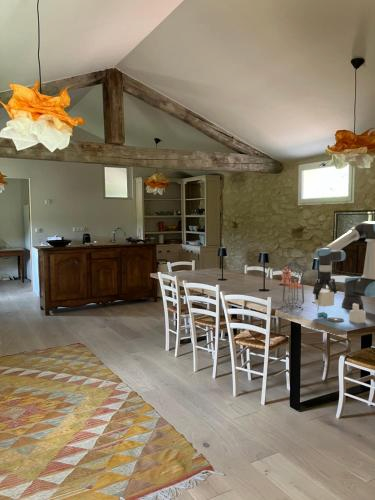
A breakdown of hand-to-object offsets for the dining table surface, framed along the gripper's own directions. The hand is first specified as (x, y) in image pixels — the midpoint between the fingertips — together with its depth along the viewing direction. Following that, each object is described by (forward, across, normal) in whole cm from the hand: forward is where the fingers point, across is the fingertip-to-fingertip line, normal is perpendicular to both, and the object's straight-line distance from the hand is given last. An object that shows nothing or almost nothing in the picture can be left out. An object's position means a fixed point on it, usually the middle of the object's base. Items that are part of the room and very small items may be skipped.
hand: (324, 303), depth 265 cm
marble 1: (+9, +2, -1) cm, 9 cm away
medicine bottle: (+10, -14, +16) cm, 23 cm away
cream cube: (+1, 0, -1) cm, 1 cm away
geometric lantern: (+10, +6, -33) cm, 35 cm away
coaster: (+9, -2, +9) cm, 13 cm away
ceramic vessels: (+11, -34, -114) cm, 119 cm away
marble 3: (+9, 0, +1) cm, 9 cm away
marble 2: (+8, -1, -2) cm, 9 cm away
